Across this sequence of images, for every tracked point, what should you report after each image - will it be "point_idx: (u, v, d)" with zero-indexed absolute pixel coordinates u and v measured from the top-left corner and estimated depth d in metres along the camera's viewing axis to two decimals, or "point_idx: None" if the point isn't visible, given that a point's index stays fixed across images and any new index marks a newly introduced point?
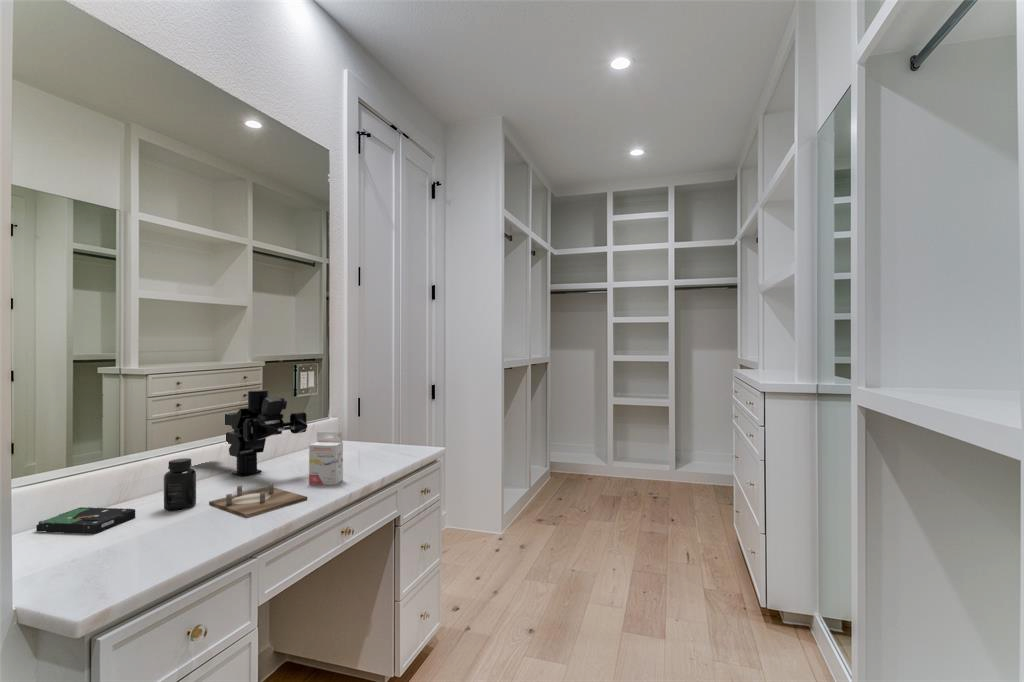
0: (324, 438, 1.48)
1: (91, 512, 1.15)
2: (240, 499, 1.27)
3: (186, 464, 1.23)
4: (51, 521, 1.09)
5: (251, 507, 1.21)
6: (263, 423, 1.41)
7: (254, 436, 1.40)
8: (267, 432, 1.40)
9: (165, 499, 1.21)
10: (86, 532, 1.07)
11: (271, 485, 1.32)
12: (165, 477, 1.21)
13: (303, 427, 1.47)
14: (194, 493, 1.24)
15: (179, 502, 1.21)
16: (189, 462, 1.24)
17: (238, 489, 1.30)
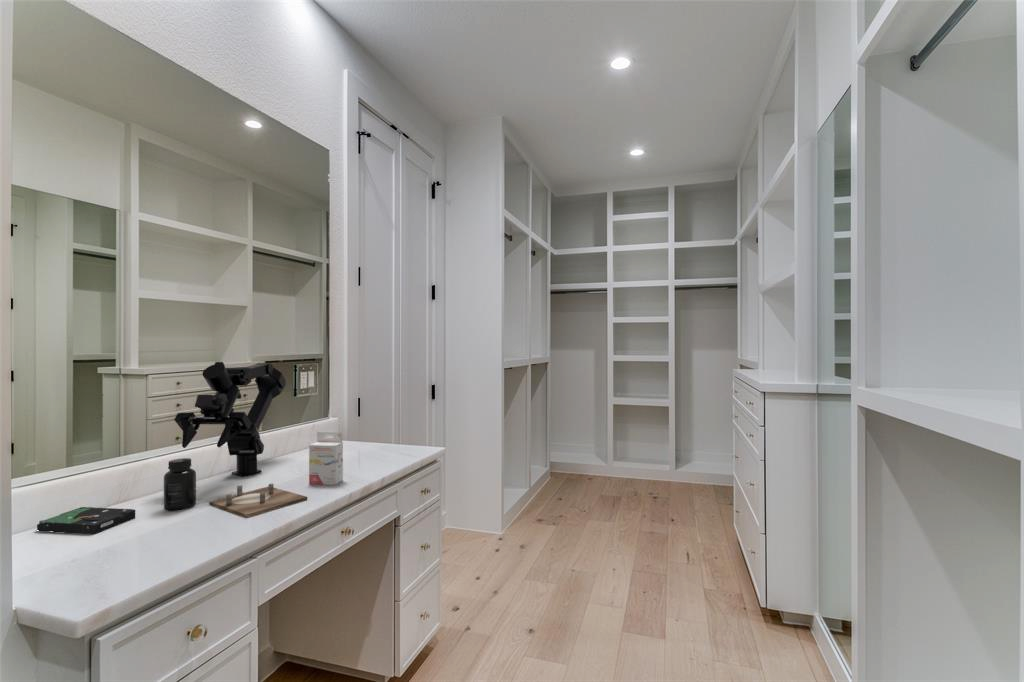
0: (324, 438, 1.48)
1: (92, 512, 1.15)
2: (240, 499, 1.27)
3: (186, 464, 1.23)
4: (51, 521, 1.09)
5: (251, 507, 1.21)
6: (185, 426, 1.35)
7: None
8: None
9: (165, 499, 1.21)
10: (85, 532, 1.07)
11: (271, 485, 1.32)
12: (165, 477, 1.21)
13: None
14: (194, 493, 1.24)
15: (179, 502, 1.21)
16: (189, 462, 1.24)
17: (238, 489, 1.30)
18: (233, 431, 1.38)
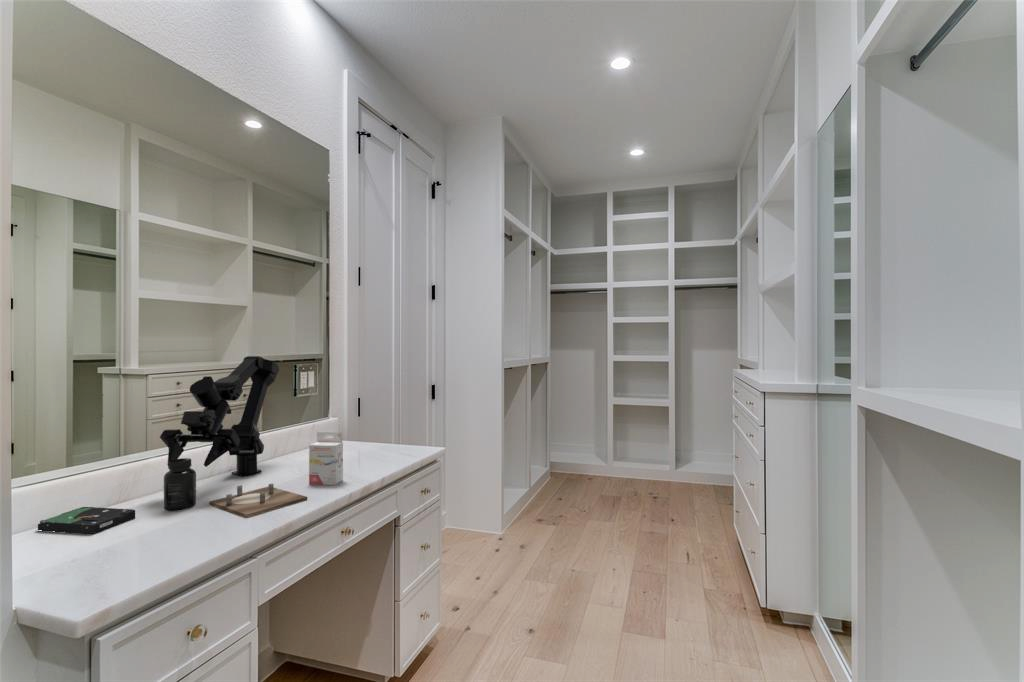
0: (324, 438, 1.48)
1: (92, 512, 1.15)
2: (240, 499, 1.27)
3: (186, 464, 1.23)
4: (52, 520, 1.09)
5: (251, 507, 1.21)
6: (171, 443, 1.29)
7: None
8: None
9: (165, 499, 1.21)
10: (84, 533, 1.07)
11: (271, 485, 1.32)
12: (165, 477, 1.21)
13: None
14: (194, 493, 1.24)
15: (179, 502, 1.21)
16: (189, 462, 1.24)
17: (238, 489, 1.30)
18: (222, 449, 1.32)
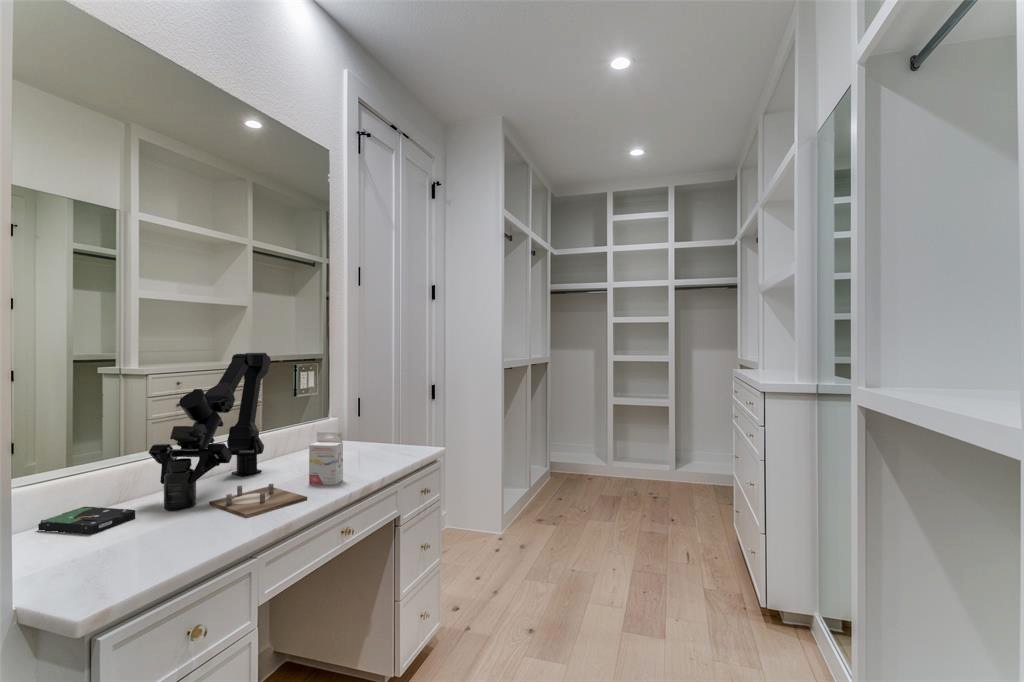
0: (324, 438, 1.48)
1: (93, 512, 1.15)
2: (240, 499, 1.27)
3: (186, 464, 1.23)
4: (52, 520, 1.09)
5: (251, 507, 1.21)
6: (165, 459, 1.25)
7: None
8: None
9: (165, 499, 1.21)
10: (83, 533, 1.07)
11: (271, 485, 1.32)
12: (165, 477, 1.21)
13: None
14: (194, 493, 1.24)
15: (179, 502, 1.21)
16: (189, 462, 1.24)
17: (238, 489, 1.30)
18: (209, 464, 1.28)
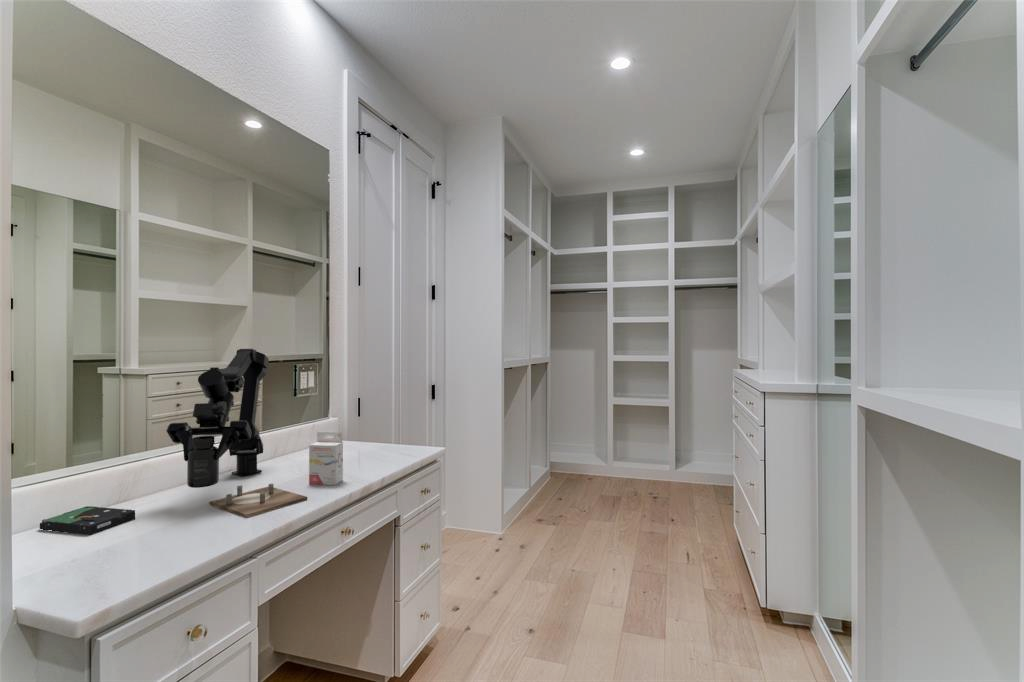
0: (324, 438, 1.48)
1: (93, 512, 1.15)
2: (240, 499, 1.27)
3: (211, 441, 1.24)
4: (53, 520, 1.10)
5: (251, 507, 1.21)
6: (185, 437, 1.25)
7: (182, 442, 1.28)
8: None
9: (190, 476, 1.21)
10: (82, 533, 1.07)
11: (271, 485, 1.32)
12: (190, 454, 1.22)
13: None
14: (218, 470, 1.26)
15: (205, 478, 1.22)
16: (213, 439, 1.25)
17: (238, 489, 1.30)
18: (230, 441, 1.29)
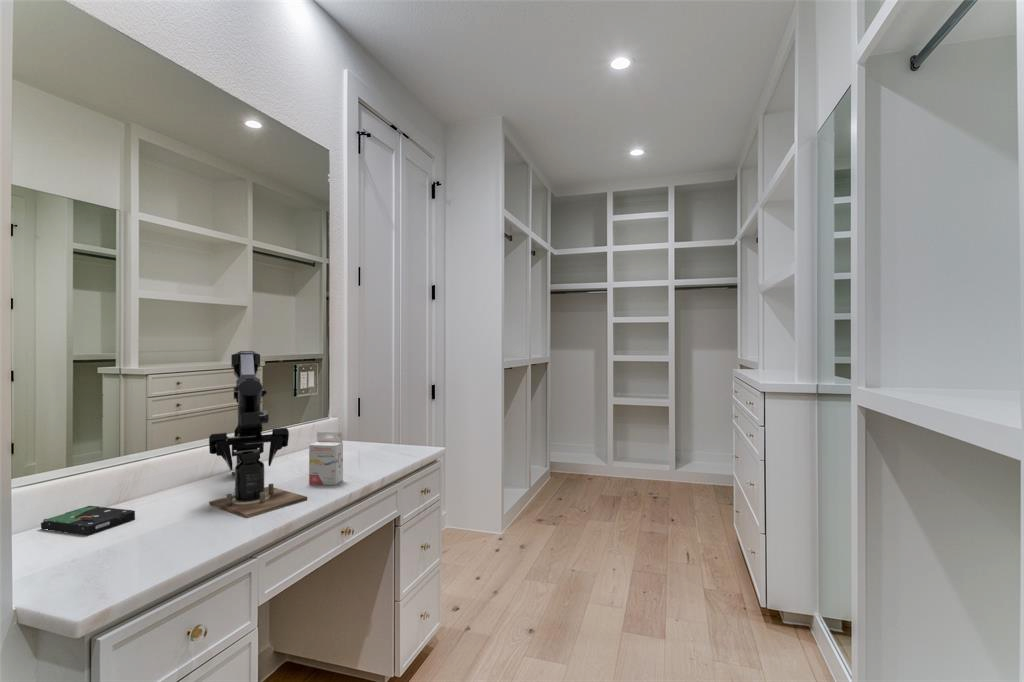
0: (324, 438, 1.48)
1: (94, 512, 1.15)
2: None
3: (258, 455, 1.28)
4: (54, 519, 1.10)
5: (251, 507, 1.21)
6: (226, 447, 1.26)
7: (217, 453, 1.28)
8: (226, 460, 1.26)
9: (242, 490, 1.25)
10: (80, 533, 1.06)
11: (271, 485, 1.32)
12: (242, 469, 1.25)
13: (268, 461, 1.30)
14: None
15: (257, 491, 1.26)
16: (259, 453, 1.29)
17: None
18: (274, 448, 1.34)
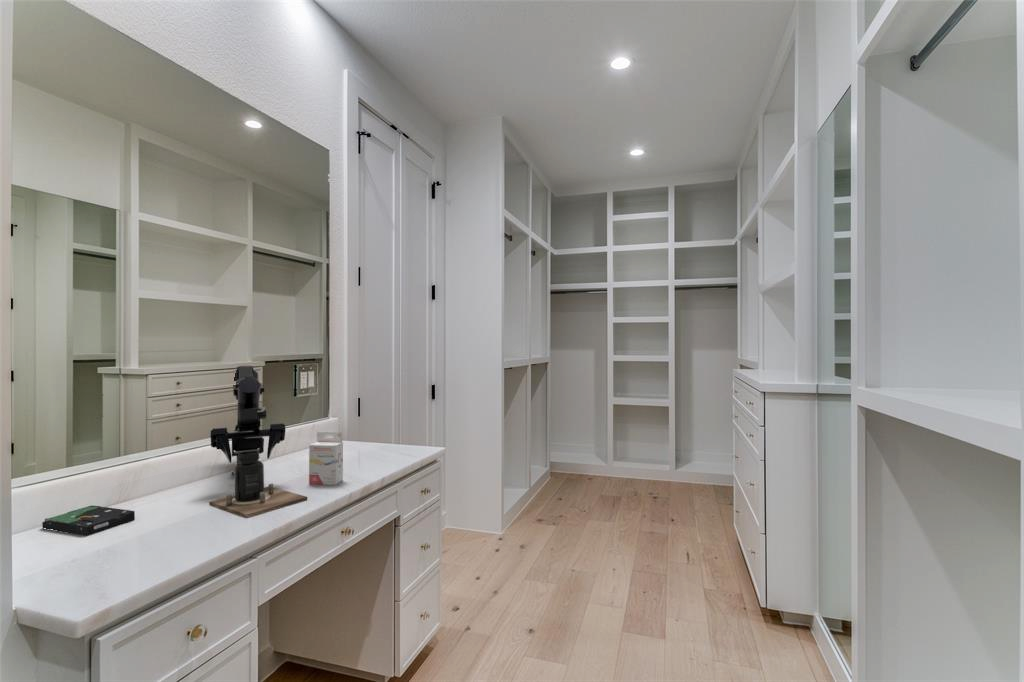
0: (324, 438, 1.48)
1: (95, 512, 1.15)
2: None
3: (257, 455, 1.28)
4: (55, 519, 1.10)
5: (251, 507, 1.21)
6: (226, 441, 1.35)
7: (217, 447, 1.37)
8: (225, 453, 1.35)
9: (241, 491, 1.25)
10: (79, 533, 1.06)
11: (271, 485, 1.32)
12: (241, 469, 1.25)
13: (267, 454, 1.39)
14: None
15: (257, 492, 1.26)
16: (258, 453, 1.29)
17: None
18: (273, 442, 1.43)
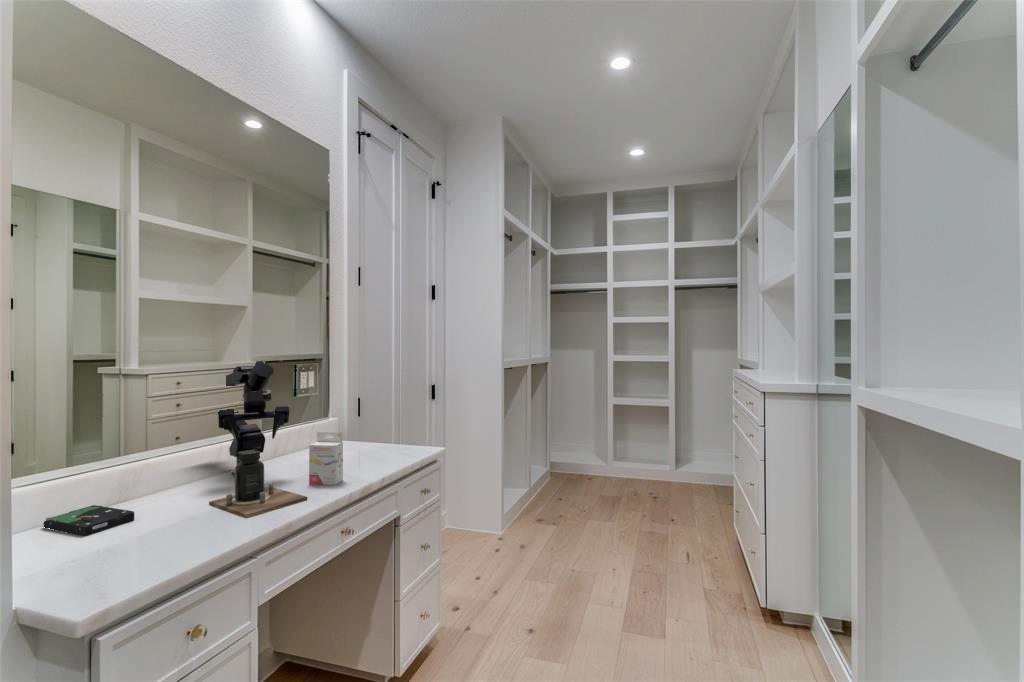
0: (324, 438, 1.48)
1: (96, 511, 1.15)
2: None
3: (258, 455, 1.28)
4: (56, 519, 1.10)
5: (251, 507, 1.21)
6: (233, 421, 1.42)
7: (225, 427, 1.43)
8: (232, 433, 1.42)
9: (241, 490, 1.25)
10: (78, 534, 1.06)
11: (271, 485, 1.32)
12: (241, 469, 1.25)
13: (272, 435, 1.45)
14: None
15: (257, 492, 1.26)
16: (259, 453, 1.29)
17: None
18: (277, 424, 1.49)
